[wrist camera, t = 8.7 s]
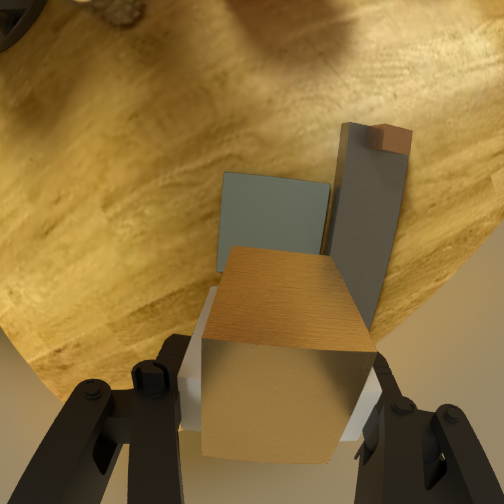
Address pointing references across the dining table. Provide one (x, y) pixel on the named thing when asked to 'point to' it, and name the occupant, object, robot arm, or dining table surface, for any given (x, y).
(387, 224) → the plane body
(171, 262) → the dining table surface
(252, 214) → the mat
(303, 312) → the tan wooden block
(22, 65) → the dining table surface
